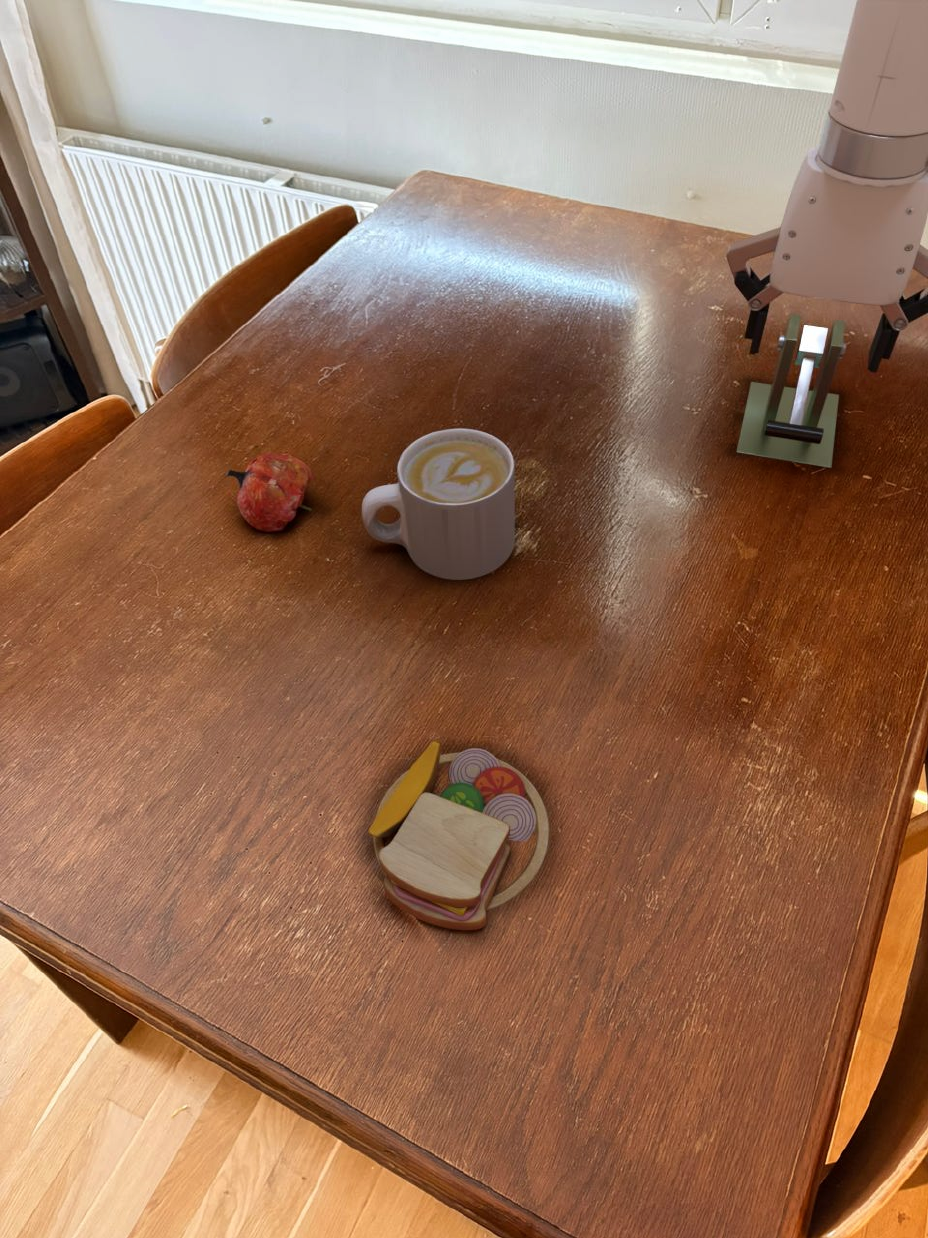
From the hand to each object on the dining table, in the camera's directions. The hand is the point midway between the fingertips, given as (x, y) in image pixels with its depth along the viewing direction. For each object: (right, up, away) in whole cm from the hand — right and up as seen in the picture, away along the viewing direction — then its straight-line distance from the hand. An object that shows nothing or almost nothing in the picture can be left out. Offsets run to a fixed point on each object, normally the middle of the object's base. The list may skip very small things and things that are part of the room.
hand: (812, 354), depth 76 cm
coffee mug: (-32, -16, +7) cm, 36 cm away
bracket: (+3, -3, +16) cm, 16 cm away
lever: (+2, -1, +8) cm, 9 cm away
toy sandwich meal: (-30, -39, -12) cm, 50 cm away
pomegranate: (-47, -13, +11) cm, 50 cm away
